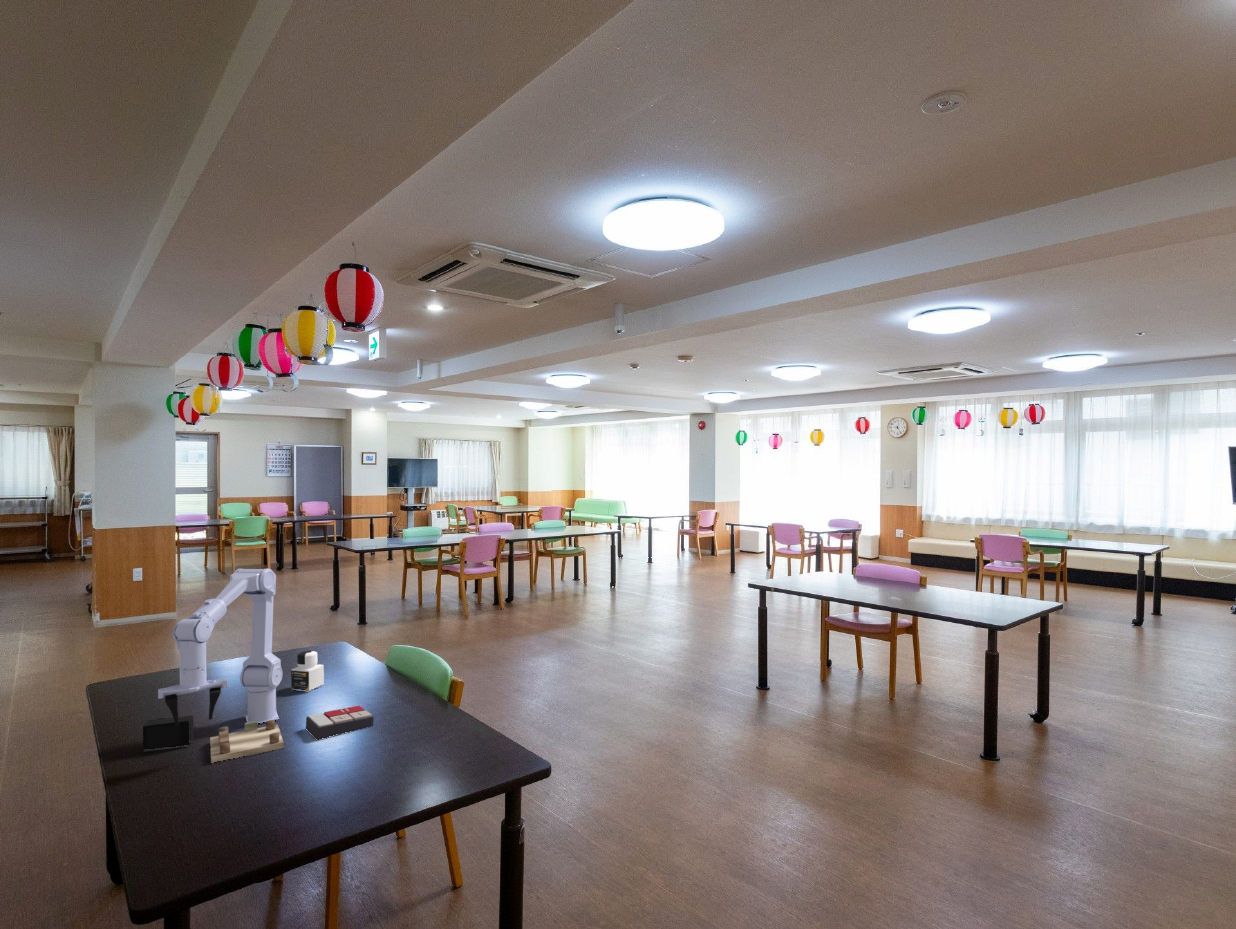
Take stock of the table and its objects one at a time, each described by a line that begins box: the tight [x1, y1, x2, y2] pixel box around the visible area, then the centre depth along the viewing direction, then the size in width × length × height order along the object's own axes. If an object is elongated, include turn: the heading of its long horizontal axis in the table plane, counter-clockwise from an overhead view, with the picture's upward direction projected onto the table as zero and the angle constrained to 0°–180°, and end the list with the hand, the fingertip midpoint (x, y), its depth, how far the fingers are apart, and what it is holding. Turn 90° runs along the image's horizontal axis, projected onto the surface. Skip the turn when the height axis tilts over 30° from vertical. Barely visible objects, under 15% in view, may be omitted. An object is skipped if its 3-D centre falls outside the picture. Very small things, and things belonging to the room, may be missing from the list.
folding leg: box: [218, 726, 230, 745], centre depth 174 cm, size 10×2×2 cm, turn 32°
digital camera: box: [142, 715, 195, 750], centre depth 176 cm, size 10×5×7 cm, turn 108°
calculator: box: [305, 705, 375, 741], centre depth 187 cm, size 11×4×15 cm
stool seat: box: [209, 720, 285, 764], centre depth 175 cm, size 15×16×4 cm
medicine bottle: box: [290, 650, 325, 691], centre depth 222 cm, size 7×7×12 cm
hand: (193, 721), depth 168 cm, fingers open, 6 cm apart
